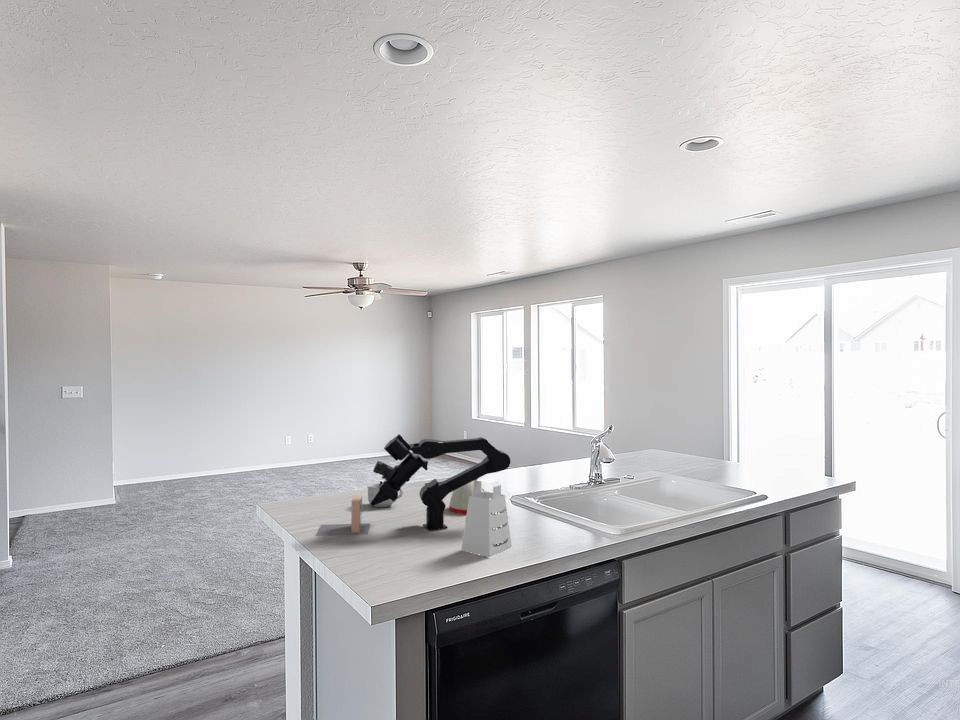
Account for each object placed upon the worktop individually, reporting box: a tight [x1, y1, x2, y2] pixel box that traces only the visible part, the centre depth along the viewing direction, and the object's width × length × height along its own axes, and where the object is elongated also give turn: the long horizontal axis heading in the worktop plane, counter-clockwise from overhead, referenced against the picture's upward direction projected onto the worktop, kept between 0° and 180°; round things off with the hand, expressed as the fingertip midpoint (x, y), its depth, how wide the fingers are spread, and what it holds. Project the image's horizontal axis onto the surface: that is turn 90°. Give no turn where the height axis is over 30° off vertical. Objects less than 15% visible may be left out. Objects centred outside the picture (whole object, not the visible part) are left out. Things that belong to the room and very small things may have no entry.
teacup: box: [367, 482, 404, 508], centre depth 215 cm, size 14×11×8 cm
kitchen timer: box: [449, 468, 485, 515], centre depth 211 cm, size 14×14×15 cm
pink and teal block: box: [350, 494, 363, 533], centre depth 184 cm, size 3×8×10 cm, turn 7°
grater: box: [460, 478, 513, 558], centre depth 166 cm, size 10×10×20 cm
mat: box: [315, 522, 371, 537], centre depth 183 cm, size 16×12×1 cm
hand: (371, 504), depth 184 cm, fingers closed
